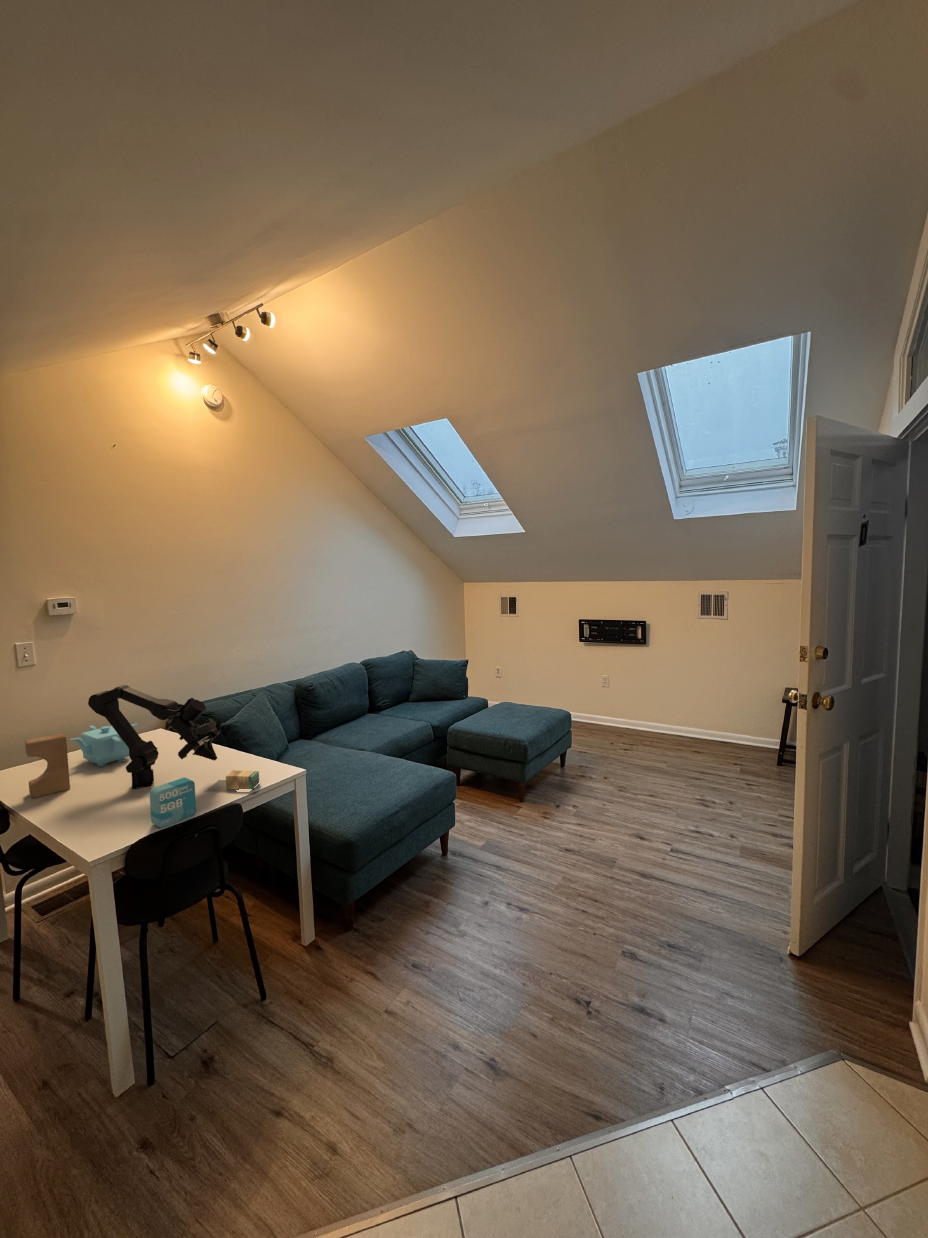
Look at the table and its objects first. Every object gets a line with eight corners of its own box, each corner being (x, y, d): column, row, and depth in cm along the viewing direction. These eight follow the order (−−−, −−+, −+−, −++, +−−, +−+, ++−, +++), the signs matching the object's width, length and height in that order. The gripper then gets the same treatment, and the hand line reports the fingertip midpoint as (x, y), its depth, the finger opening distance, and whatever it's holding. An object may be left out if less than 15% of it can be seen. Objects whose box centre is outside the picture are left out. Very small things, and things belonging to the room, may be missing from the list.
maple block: (225, 775, 185) (252, 776, 185) (232, 770, 190) (258, 771, 190) (226, 789, 186) (252, 790, 185) (233, 783, 191) (259, 784, 190)
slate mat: (203, 792, 184) (203, 791, 184) (219, 781, 194) (218, 780, 194) (249, 794, 183) (249, 793, 183) (262, 782, 193) (262, 781, 193)
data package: (158, 829, 158) (155, 792, 157) (151, 825, 161) (148, 789, 159) (196, 814, 168) (194, 779, 167) (189, 810, 171) (187, 776, 169)
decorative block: (30, 799, 179) (25, 743, 177) (29, 793, 183) (24, 739, 181) (70, 789, 186) (66, 736, 184) (68, 784, 190) (64, 732, 188)
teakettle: (122, 767, 207) (120, 732, 205) (69, 771, 203) (66, 735, 201) (140, 751, 225) (138, 718, 224) (92, 754, 221) (90, 721, 219)
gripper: (184, 722, 177) (216, 754, 177) (214, 707, 196) (243, 736, 196) (164, 743, 178) (195, 775, 179) (195, 726, 197) (224, 755, 197)
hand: (216, 759), depth 188 cm, fingers closed
